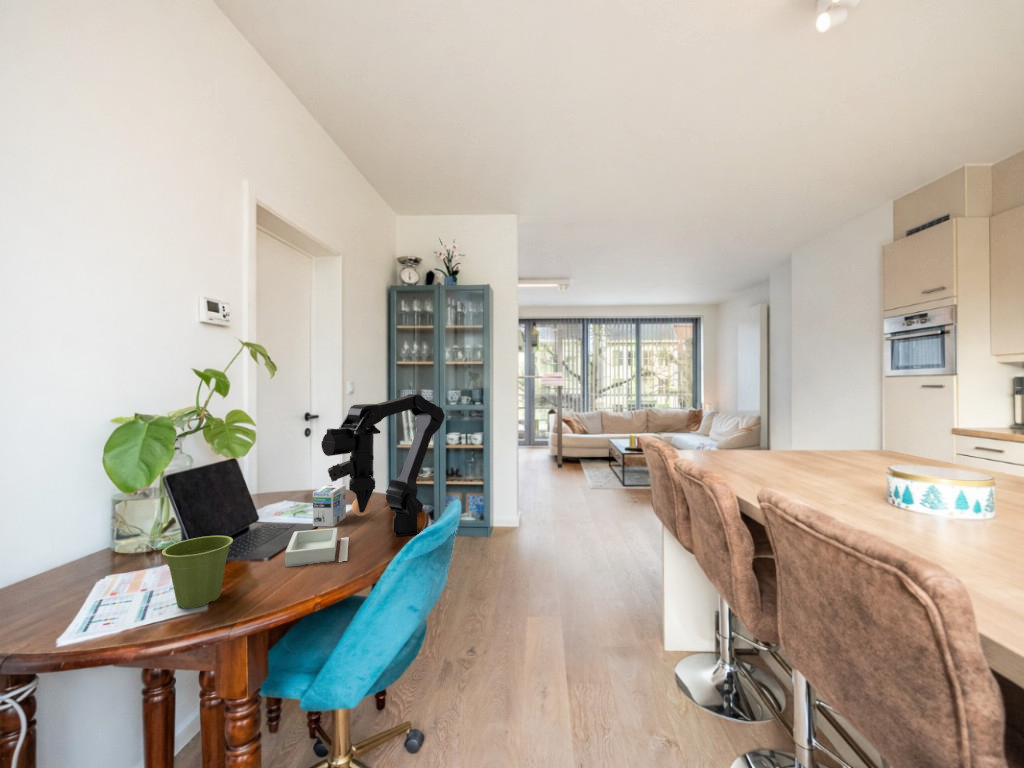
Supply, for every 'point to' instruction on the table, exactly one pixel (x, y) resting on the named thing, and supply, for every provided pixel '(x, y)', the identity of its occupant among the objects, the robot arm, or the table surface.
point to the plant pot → (197, 569)
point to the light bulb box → (329, 505)
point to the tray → (311, 547)
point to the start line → (343, 549)
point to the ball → (356, 508)
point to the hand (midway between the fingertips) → (361, 509)
